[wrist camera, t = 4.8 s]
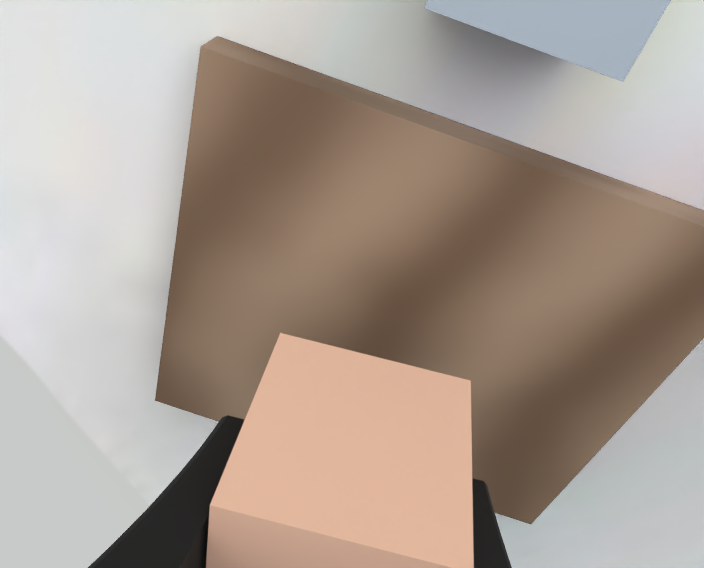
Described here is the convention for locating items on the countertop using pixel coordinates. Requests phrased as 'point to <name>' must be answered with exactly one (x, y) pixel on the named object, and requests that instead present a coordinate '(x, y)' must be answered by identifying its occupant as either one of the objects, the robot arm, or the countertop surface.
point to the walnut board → (422, 266)
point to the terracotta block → (347, 467)
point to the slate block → (566, 27)
